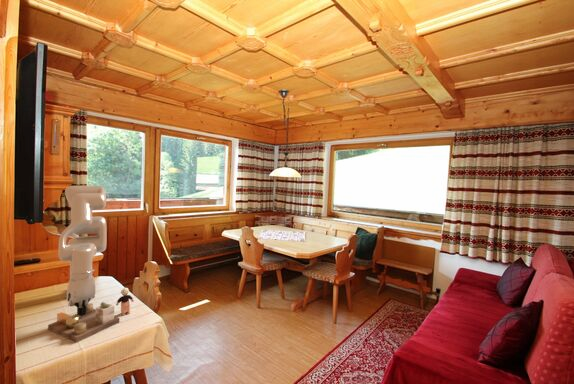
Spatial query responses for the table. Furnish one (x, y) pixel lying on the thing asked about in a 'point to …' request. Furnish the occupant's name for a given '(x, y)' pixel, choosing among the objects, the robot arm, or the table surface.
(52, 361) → the table surface
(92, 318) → the base
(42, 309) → the table surface
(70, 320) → the orange lever bar
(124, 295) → the grandmother figurine
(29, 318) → the table surface
